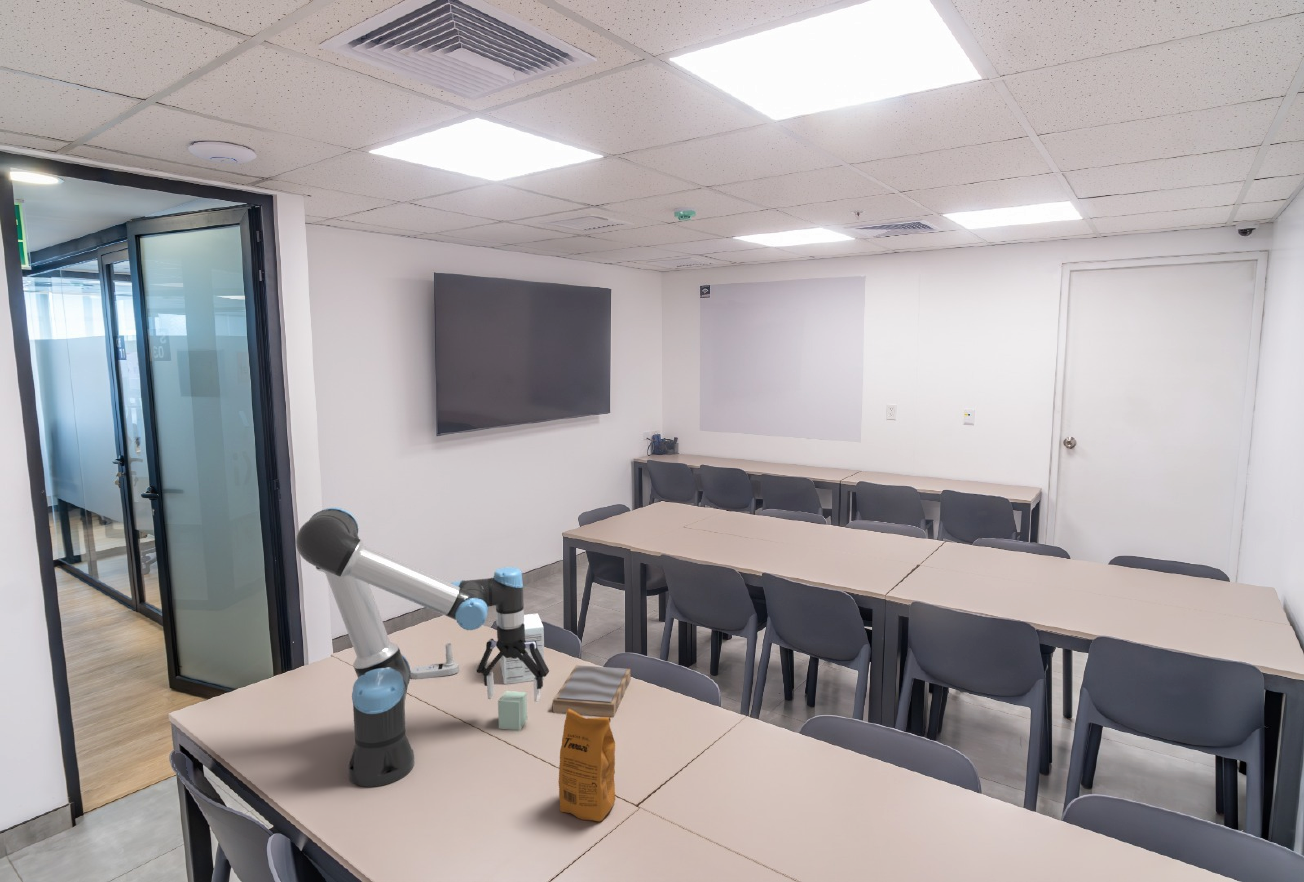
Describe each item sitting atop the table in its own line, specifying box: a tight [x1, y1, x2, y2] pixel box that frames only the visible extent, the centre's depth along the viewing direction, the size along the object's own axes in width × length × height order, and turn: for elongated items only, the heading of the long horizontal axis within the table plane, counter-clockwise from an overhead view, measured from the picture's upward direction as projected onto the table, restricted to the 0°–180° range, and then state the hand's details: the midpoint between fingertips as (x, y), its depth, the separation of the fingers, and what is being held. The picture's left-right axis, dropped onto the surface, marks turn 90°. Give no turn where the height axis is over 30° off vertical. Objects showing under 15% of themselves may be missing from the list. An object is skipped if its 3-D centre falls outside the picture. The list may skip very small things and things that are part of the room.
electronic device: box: [410, 642, 460, 680], centre depth 220 cm, size 5×10×15 cm
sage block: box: [497, 690, 528, 731], centre depth 188 cm, size 6×6×8 cm
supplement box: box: [499, 613, 545, 685], centre depth 220 cm, size 13×13×18 cm
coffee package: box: [558, 709, 616, 822], centre depth 151 cm, size 10×12×22 cm
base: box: [552, 664, 632, 718], centre depth 205 cm, size 24×18×4 cm
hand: (514, 698), depth 188 cm, fingers open, 13 cm apart
